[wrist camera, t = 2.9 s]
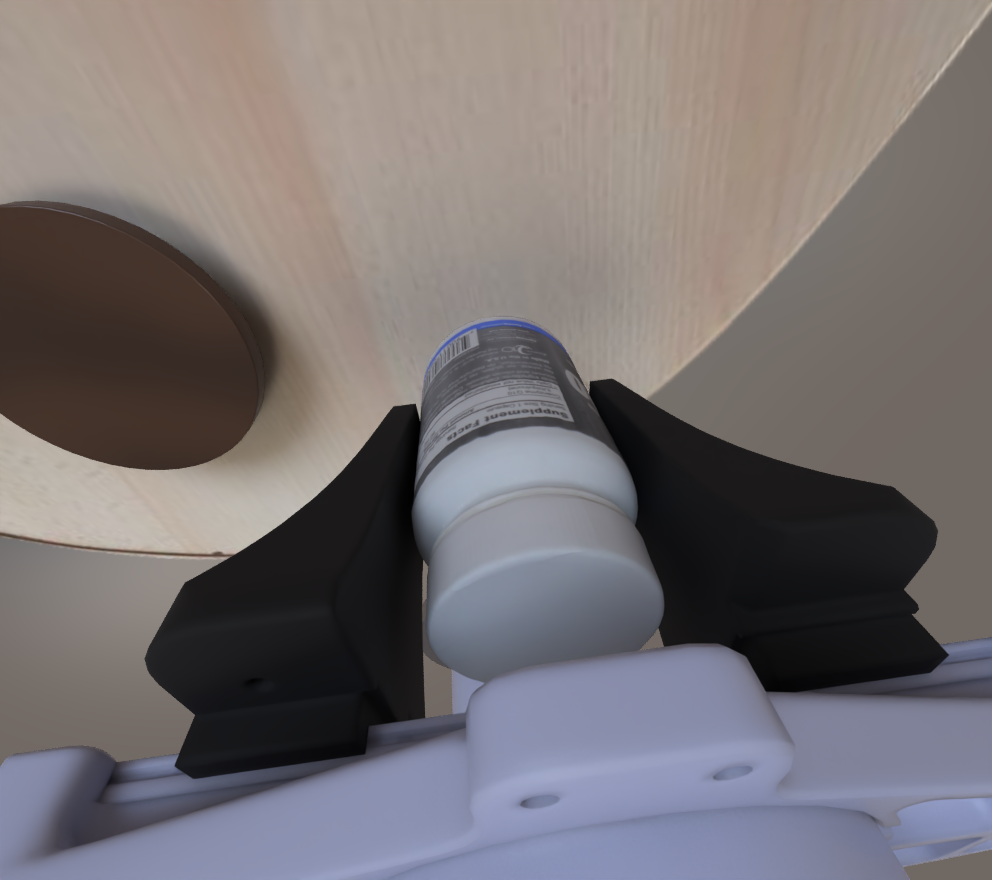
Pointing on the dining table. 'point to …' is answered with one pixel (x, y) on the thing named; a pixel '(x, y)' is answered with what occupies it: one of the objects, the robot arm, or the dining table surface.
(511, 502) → the pill bottle
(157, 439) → the stand
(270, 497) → the dining table surface
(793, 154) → the dining table surface
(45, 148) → the dining table surface
